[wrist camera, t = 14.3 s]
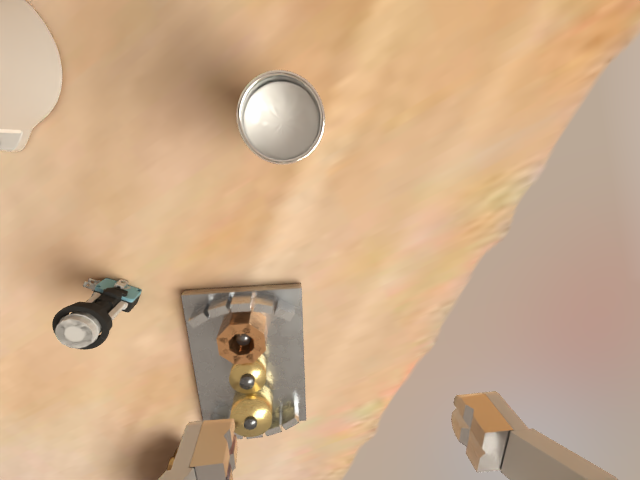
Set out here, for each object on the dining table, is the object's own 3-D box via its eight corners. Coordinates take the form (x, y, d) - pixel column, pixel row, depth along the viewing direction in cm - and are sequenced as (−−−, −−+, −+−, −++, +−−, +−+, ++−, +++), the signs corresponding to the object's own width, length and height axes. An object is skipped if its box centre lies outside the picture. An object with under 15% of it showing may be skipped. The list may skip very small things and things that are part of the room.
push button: (85, 294, 41) (25, 342, 31) (96, 260, 39) (37, 299, 30) (137, 311, 42) (94, 361, 33) (149, 279, 41) (108, 322, 32)
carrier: (207, 422, 50) (196, 459, 44) (184, 290, 42) (168, 314, 36) (305, 412, 51) (308, 447, 45) (300, 283, 44) (303, 305, 38)
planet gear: (226, 346, 44) (220, 365, 40) (220, 309, 42) (214, 326, 38) (268, 342, 44) (267, 361, 41) (264, 306, 42) (263, 322, 39)
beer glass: (320, 143, 38) (341, 147, 24) (268, 164, 38) (258, 181, 24) (298, 84, 36) (307, 50, 21) (243, 108, 36) (215, 88, 22)
